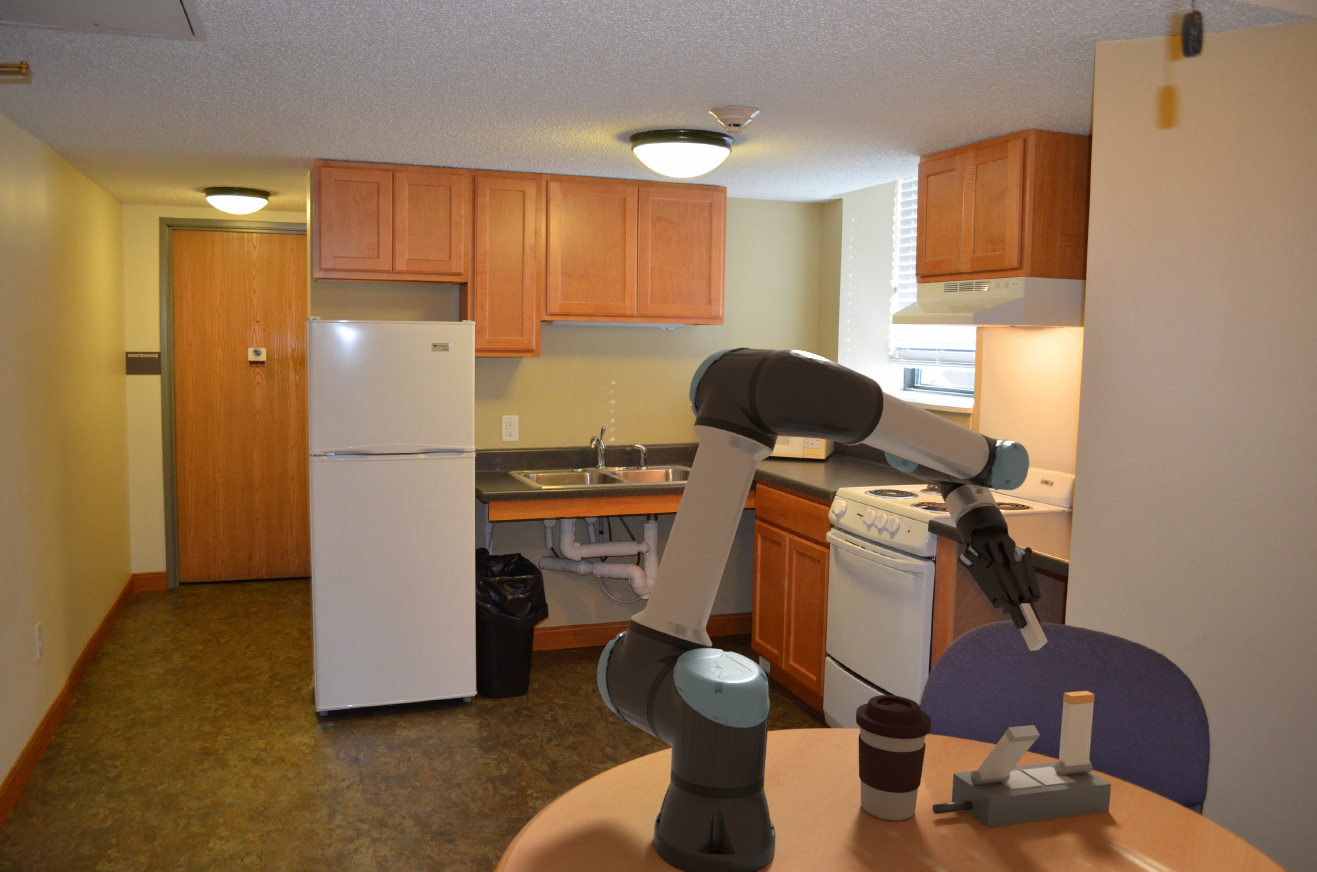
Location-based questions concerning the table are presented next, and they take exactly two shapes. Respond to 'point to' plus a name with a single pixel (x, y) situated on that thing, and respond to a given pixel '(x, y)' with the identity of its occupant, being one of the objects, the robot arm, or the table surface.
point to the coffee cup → (891, 755)
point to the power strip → (1028, 796)
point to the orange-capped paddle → (1075, 733)
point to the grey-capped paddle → (1005, 755)
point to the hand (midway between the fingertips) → (1038, 645)
